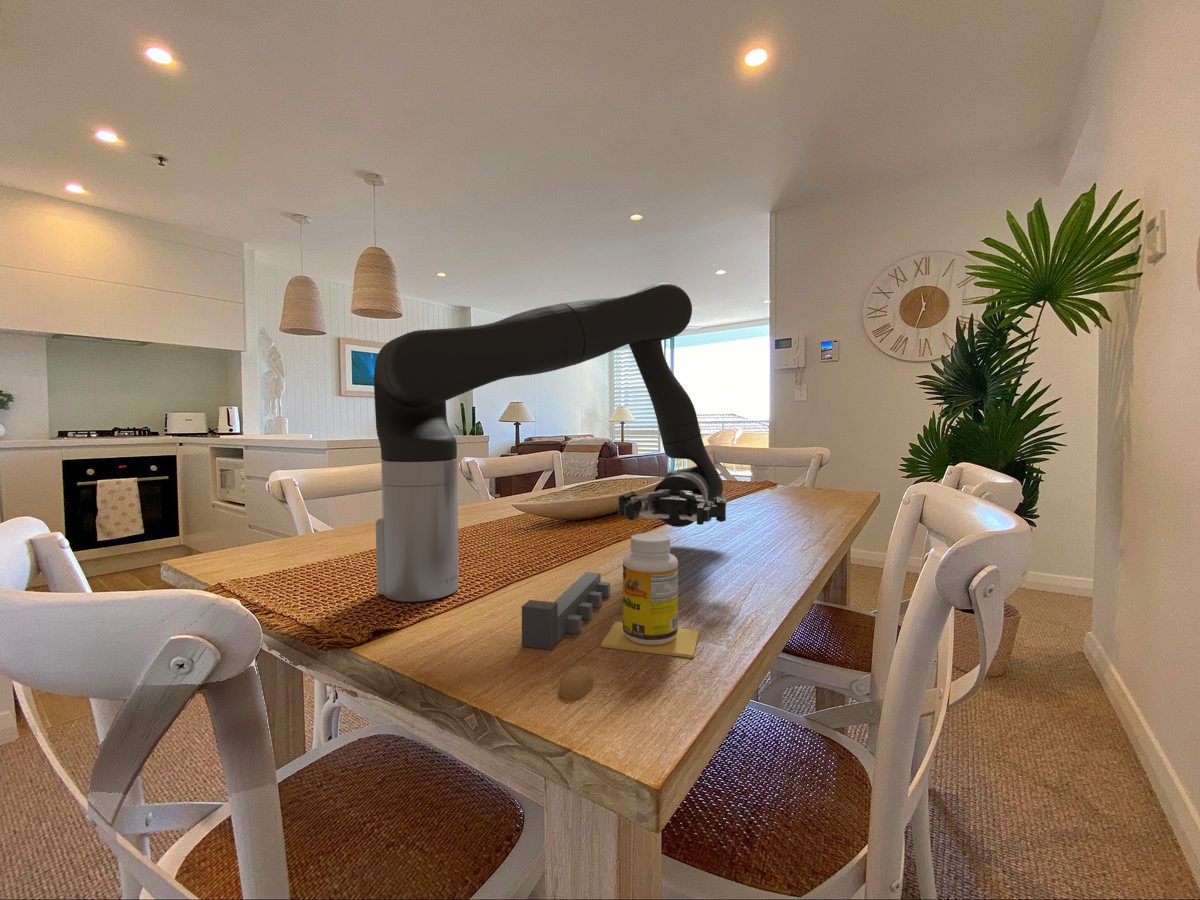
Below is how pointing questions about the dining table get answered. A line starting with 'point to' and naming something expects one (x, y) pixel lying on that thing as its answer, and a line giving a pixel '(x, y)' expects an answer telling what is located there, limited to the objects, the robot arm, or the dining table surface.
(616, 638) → the yellow sticky note
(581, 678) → the potato
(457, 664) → the dining table surface
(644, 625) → the supplement bottle
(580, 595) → the cable comb
